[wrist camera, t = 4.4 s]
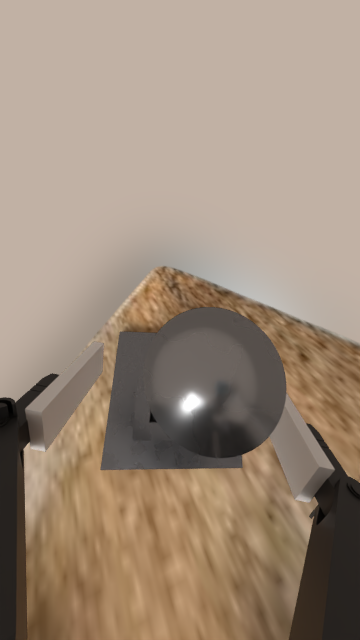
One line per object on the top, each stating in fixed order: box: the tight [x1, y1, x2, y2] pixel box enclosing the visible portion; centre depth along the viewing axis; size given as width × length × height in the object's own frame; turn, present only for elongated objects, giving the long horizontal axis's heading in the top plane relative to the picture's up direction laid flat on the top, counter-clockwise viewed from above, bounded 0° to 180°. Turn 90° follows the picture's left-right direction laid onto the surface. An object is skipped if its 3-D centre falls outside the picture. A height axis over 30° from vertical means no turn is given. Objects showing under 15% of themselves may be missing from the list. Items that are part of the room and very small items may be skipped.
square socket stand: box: [101, 332, 243, 470], centre depth 24 cm, size 18×18×11 cm
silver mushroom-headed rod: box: [143, 307, 286, 458], centre depth 17 cm, size 5×5×22 cm
